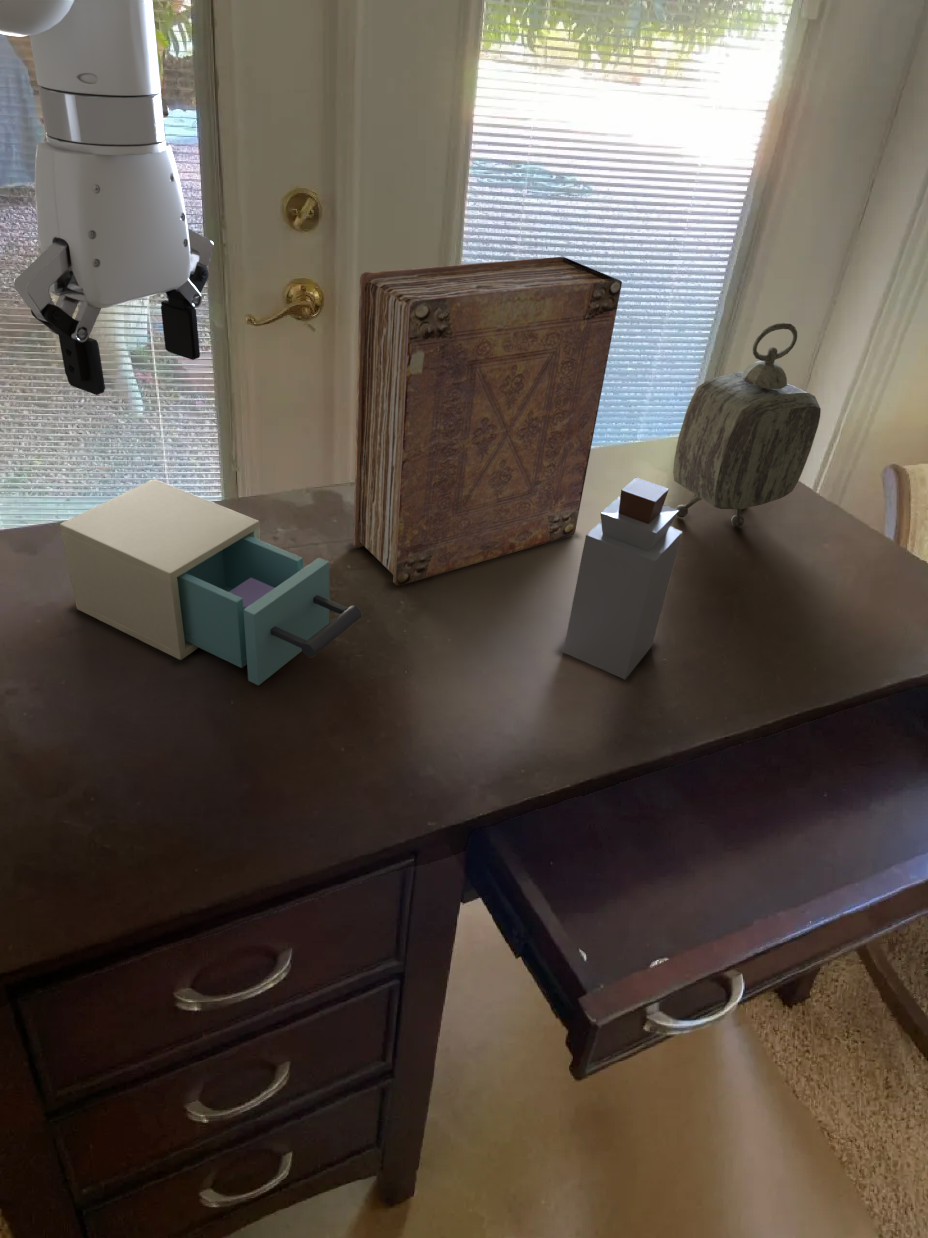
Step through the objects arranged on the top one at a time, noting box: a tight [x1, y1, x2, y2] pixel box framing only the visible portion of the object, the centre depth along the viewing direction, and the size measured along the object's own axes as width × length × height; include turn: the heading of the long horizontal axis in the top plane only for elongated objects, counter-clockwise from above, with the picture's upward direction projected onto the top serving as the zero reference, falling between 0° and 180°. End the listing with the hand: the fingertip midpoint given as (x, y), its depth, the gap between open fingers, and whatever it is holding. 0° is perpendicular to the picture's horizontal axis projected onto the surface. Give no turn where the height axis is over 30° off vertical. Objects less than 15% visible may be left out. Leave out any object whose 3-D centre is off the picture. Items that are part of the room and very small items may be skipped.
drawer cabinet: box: [59, 478, 261, 661], centre depth 86 cm, size 14×12×10 cm
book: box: [352, 256, 623, 586], centre depth 95 cm, size 25×9×30 cm, turn 124°
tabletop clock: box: [672, 322, 822, 528], centre depth 107 cm, size 14×9×25 cm, turn 122°
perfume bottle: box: [562, 477, 684, 680], centre depth 84 cm, size 7×7×18 cm
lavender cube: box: [229, 578, 274, 609], centre depth 82 cm, size 4×4×4 cm
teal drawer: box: [177, 535, 363, 686], centre depth 81 cm, size 17×10×8 cm, turn 60°
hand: (137, 371), depth 69 cm, fingers open, 9 cm apart
